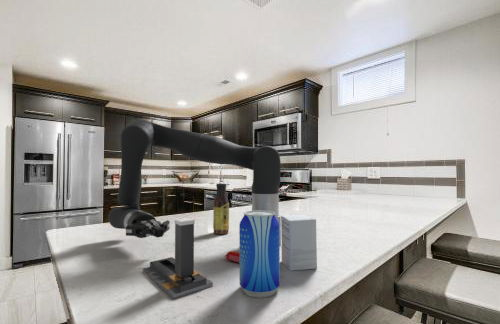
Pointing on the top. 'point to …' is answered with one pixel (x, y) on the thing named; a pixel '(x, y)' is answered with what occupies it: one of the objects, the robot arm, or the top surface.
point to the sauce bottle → (221, 211)
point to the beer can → (259, 253)
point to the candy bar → (233, 256)
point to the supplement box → (299, 242)
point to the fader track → (174, 278)
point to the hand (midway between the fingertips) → (160, 233)
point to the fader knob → (184, 248)
